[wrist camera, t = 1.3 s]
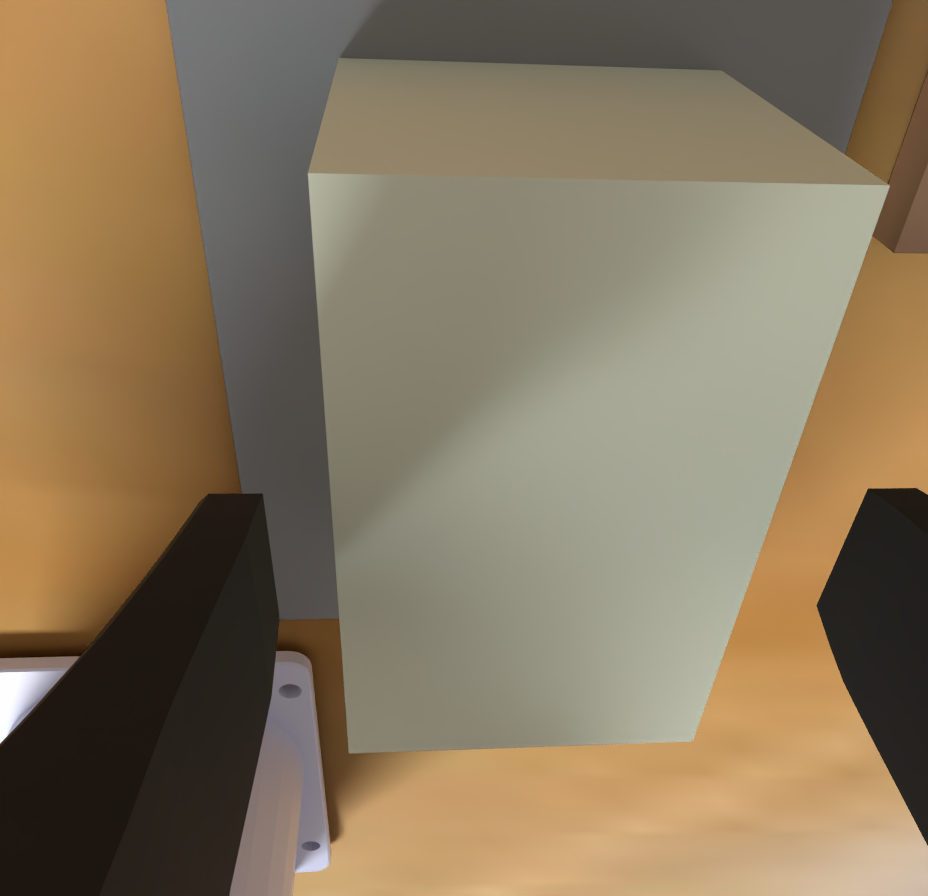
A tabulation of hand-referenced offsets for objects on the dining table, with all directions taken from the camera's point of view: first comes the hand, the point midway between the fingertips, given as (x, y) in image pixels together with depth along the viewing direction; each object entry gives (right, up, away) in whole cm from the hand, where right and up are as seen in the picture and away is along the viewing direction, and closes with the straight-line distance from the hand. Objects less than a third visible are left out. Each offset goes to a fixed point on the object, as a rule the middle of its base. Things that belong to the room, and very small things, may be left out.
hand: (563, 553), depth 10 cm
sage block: (0, +3, +4) cm, 5 cm away
